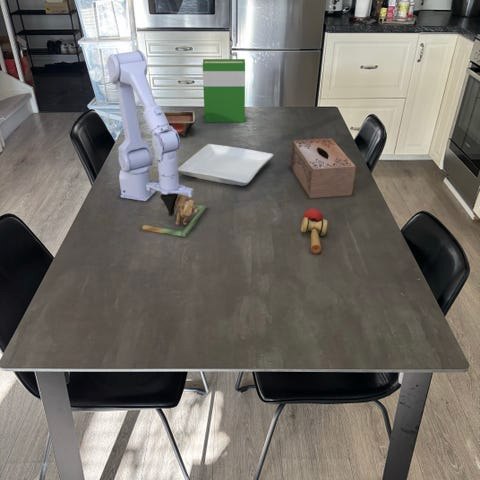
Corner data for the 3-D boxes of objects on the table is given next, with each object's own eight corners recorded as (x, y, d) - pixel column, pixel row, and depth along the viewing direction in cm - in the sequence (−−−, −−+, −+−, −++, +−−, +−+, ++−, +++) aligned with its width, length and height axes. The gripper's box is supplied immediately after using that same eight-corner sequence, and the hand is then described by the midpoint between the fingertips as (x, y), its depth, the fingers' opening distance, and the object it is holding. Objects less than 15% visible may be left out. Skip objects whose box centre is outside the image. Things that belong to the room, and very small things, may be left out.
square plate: (176, 179, 189) (175, 168, 186) (208, 152, 208) (208, 142, 206) (247, 191, 181) (247, 181, 178) (274, 162, 200) (274, 152, 198)
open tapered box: (192, 144, 220) (195, 119, 214) (149, 137, 218) (150, 112, 213) (195, 134, 232) (197, 111, 226) (153, 128, 230) (155, 104, 225)
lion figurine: (194, 231, 161) (201, 204, 156) (178, 230, 158) (184, 202, 153) (182, 208, 171) (187, 182, 166) (166, 207, 169) (171, 180, 164)
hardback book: (204, 122, 235) (202, 63, 220) (205, 116, 241) (203, 59, 226) (244, 122, 236) (245, 63, 221) (244, 116, 241) (244, 59, 226)
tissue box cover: (290, 167, 197) (292, 140, 191) (328, 164, 199) (331, 138, 193) (310, 198, 177) (312, 169, 171) (351, 195, 179) (355, 166, 173)
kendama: (331, 257, 151) (326, 219, 163) (330, 239, 146) (324, 201, 159) (304, 260, 152) (300, 222, 164) (302, 243, 148) (298, 205, 160)
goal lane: (142, 229, 160) (142, 226, 160) (167, 203, 174) (167, 200, 173) (184, 236, 157) (184, 233, 156) (206, 209, 171) (206, 206, 170)
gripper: (139, 174, 155) (144, 216, 164) (186, 181, 152) (188, 224, 160) (150, 165, 160) (154, 206, 169) (195, 171, 157) (197, 213, 165)
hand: (171, 214), depth 165 cm, fingers closed, pressing on lion figurine
